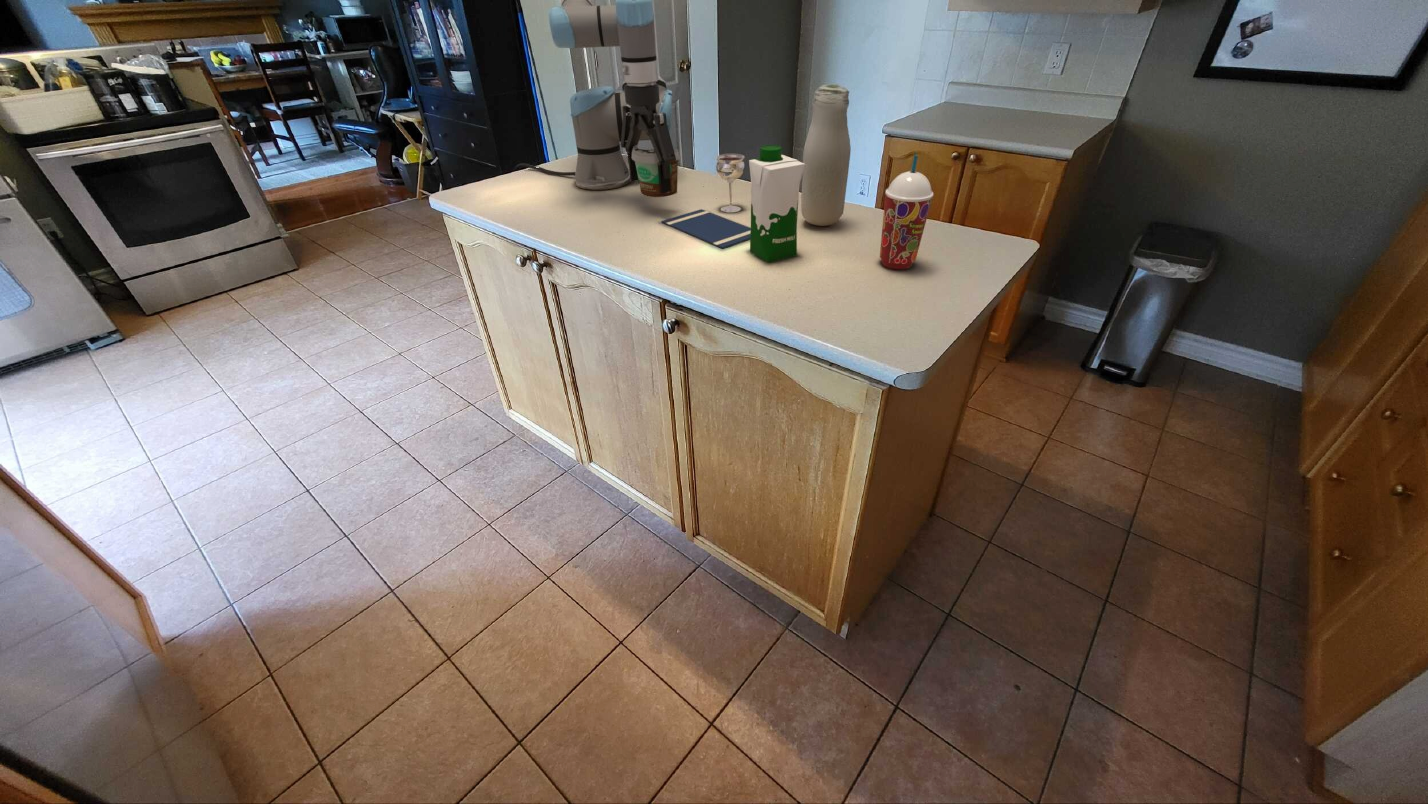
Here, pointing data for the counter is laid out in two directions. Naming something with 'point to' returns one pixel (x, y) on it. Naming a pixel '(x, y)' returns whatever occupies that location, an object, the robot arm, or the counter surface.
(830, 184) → the glass bottle
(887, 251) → the smoothie
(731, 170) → the wineglass
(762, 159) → the milk carton
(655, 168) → the food container
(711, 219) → the cloth
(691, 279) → the counter surface
